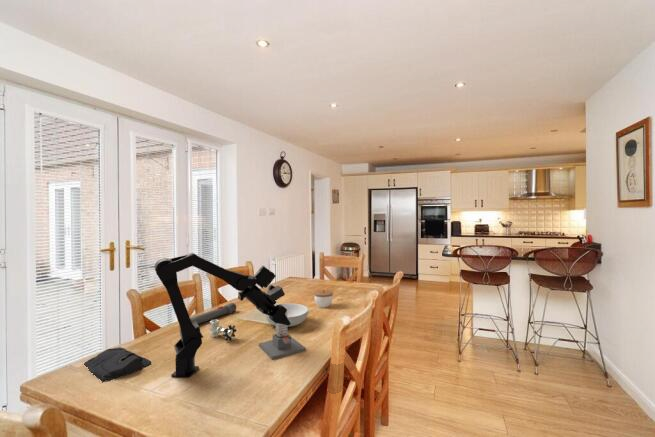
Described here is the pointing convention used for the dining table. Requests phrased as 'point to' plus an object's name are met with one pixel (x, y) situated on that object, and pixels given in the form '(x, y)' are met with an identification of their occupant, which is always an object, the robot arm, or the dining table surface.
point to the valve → (221, 330)
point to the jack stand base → (281, 346)
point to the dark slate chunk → (115, 364)
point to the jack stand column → (281, 329)
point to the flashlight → (214, 313)
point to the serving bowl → (293, 314)
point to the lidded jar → (323, 298)
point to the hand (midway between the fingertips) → (284, 320)
